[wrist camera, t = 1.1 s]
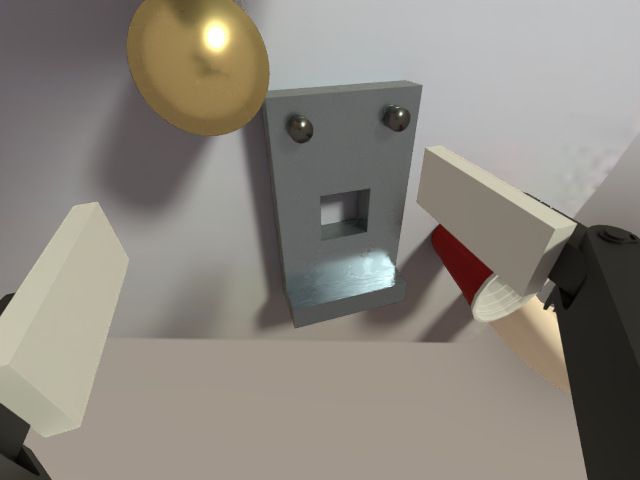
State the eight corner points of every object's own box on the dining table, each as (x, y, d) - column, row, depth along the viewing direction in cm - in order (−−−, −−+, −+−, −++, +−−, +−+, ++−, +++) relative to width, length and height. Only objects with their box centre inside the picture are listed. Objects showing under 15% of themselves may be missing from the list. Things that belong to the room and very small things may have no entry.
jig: (259, 91, 27) (271, 106, 22) (405, 80, 30) (442, 91, 25) (284, 293, 41) (294, 328, 36) (382, 270, 44) (403, 300, 39)
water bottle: (451, 290, 51) (637, 490, 29) (494, 251, 49) (731, 436, 27) (478, 309, 57) (650, 488, 35) (517, 274, 55) (729, 443, 33)
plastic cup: (434, 276, 48) (490, 338, 39) (402, 239, 42) (460, 301, 32) (493, 229, 46) (567, 282, 37) (468, 182, 40) (551, 232, 30)
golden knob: (140, -2, 22) (101, -17, 13) (240, -3, 23) (261, -17, 15) (169, 103, 26) (153, 142, 17) (253, 97, 27) (275, 129, 19)
